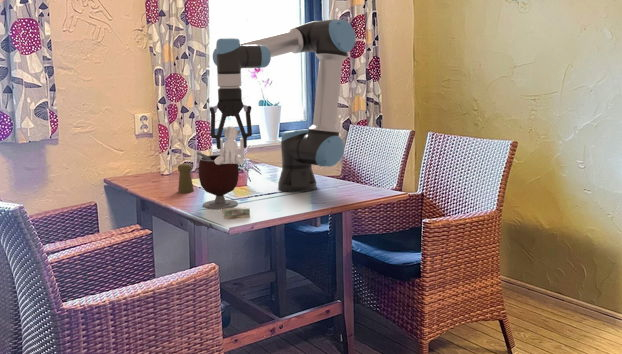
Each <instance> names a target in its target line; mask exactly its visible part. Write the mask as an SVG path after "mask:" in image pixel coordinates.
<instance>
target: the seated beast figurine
mask: <svg viewBox="0 0 622 354" xmlns="http://www.w3.org/2000/svg"><path fill="white" fill-rule="evenodd" d="M223 131H224V132H223V135H224V138H225V141H223V157H222V156H218V157H217V158H216V159H215V160H214V162H215V164H218V165H219V164H227V163H228V164H229V163H230V162H231V163H230V164H232V163H233V164H238V165H243V164H244V160H245V158H243V157H242V156H241V151H239V146H238V142H237V141H236V139H238V136H239V135H240V133H241V131H240V129H237V127H236V126H233V125H228V126H226V127H223Z"/></svg>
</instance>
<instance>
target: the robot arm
mask: <svg viewBox="0 0 622 354" xmlns="http://www.w3.org/2000/svg"><path fill="white" fill-rule="evenodd" d="M355 45H356V33H355V29H354V28H353V26H352V25H351V23H350V22H349V21H347V20H345V19H334V18H333V19H326V20H324V19H323V20H315V21H310V22H306V23H304V24H303V23H302V24H300V25H297V26H294V27H290V28H288V29H287V31H285V32H281V33H277V34H276V33H275V34H272V35H267V36H264V37H259V38H255V39H251V40H247V41H242V42H241V41H240V39H239V38H233V37H231V38H227V37H225V38H219V39H217V40H216V44H215V46H216V47H215V48H214V50H213V52H212V61H213V63H214V65H215V66H216V72H217V73H216V74H217V87H219V88H218V89H217V100H218V102H217V104H216V105H214V106H210V107H209V108H208V109H209V112H210V137H211V138H212V139H215V141H216V149H217V150H219V151H220V152H219V155H220V156H222V157H223V150H224V149H223V146H224V139H223V138H222V134H223V131H224V128H225V123H226V121H227V117H235V120H236V123H237V125H238V128H239V130H240V133H241V136H242V137H240V138H239V143H240V144H239V147H240V148H239V149H240V155H241V156H242V157H243V159H245V149H246V148H247V147H248V142H247V139H248V138H250V137H252V136H253V129H252V120H251V112H252V106H251V105H247V104H244V103H243V100H242V99H243V98H242V97H243V96H242V88H241V86H242V69H261V68H262V69H263V68H266V67H268V66H269V64H270V63H271V61H272V58H274V57H277V56H281V55H285V54H288V53H293V54H299V53H315V57H317V59H318V71H317V80H316V81H317V82H316V90H315V91H316V92H315V98H314V99H315V101H314V111H313V119H312V124H311V125H310V126H309V127H308V128H306V129H305V128H302V129H296V130H286V131H283V133H282V134H281V141H280V145H281V146H280V147H281V149H280V150H281V165H282V166H281V172H280V175H279V179H278V183H277V184H278V185H277V186H278V190H279V191H284V192H291V193H296V192H297V193H299V192H309V191H313V190H316V189H317V180H316V177H315V174H314V171H313V167H312V166H317V167H318V166H319V167H323V168H324V167H328V168H329V167H330V168H331V167H334V166H336V164H338V162H340V161H341V159H342V157H343V155H344V151H345V144H344V142H343V139H342V138H341V137H340V136H339V135H340V131H339V129H338V128H337V126H336V125H337V118H338V108H339V107H338V106H339V97H340V91H341V90H340V88H341V80H342V79H341V78H342V69H343V63H344V61H346V60H347V59H348V53H349V52H351V51H352V50H353V48H354V47H355ZM242 109H243V111H244V112H245V119H246V120H245V121H246V122H245V123H246V130H245V127H244V125H243V121H242V119H241V116H240V113H241V111H242ZM218 110H219V112H220V113H221V117H220V121H219V125H218V129H217V132H216V113H217V111H218ZM246 131H247V132H246Z"/></svg>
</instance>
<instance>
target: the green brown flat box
mask: <svg viewBox="0 0 622 354" xmlns="http://www.w3.org/2000/svg"><path fill="white" fill-rule="evenodd" d="M250 209H251V208H250V207H246V206H243V207H241V206H240V207H239V206H238V207H233V208H225V209H221V212H222V215H223V217H225V218H224V219H227V220H237V219H250V218H251V212H250Z"/></svg>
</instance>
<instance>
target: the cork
mask: <svg viewBox="0 0 622 354" xmlns="http://www.w3.org/2000/svg"><path fill="white" fill-rule="evenodd" d="M177 170H178V172H179V177H178V187H177V188H178V190H177V192H178V193H179V194H189V193H194V191H195V190H194V183H193V180H192V179H193V178H192V174H191V172H192V165H191V164H190V163H186V162H185V163H179V165H178V166H177Z"/></svg>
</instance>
